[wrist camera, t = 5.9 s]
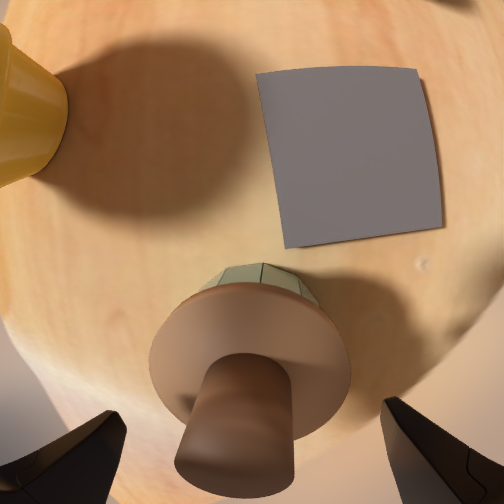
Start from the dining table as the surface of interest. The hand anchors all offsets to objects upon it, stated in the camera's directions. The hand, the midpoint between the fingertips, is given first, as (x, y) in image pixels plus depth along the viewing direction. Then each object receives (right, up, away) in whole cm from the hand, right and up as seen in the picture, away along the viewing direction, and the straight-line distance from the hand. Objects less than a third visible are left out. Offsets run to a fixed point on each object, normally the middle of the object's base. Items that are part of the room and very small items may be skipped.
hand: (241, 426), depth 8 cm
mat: (+5, +10, +4) cm, 12 cm away
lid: (0, +1, +3) cm, 3 cm away
